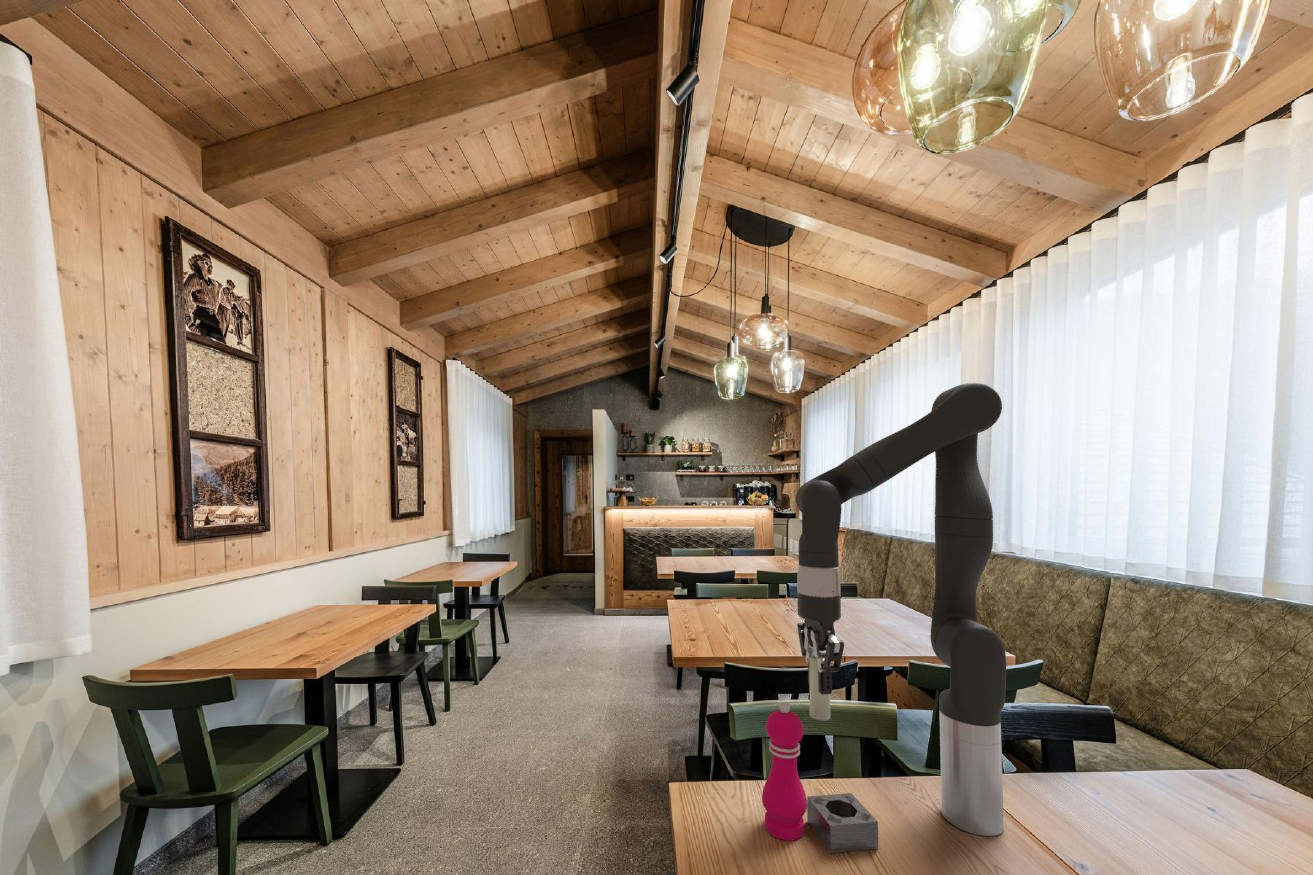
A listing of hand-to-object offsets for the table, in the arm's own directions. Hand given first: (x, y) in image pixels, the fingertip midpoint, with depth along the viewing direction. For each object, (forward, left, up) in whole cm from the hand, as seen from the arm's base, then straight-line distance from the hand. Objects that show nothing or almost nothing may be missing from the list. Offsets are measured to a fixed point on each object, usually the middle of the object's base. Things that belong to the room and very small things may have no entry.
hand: (819, 688), depth 97 cm
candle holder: (+4, +6, -20) cm, 21 cm away
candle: (0, 0, -5) cm, 5 cm away
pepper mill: (+10, -1, -20) cm, 23 cm away
